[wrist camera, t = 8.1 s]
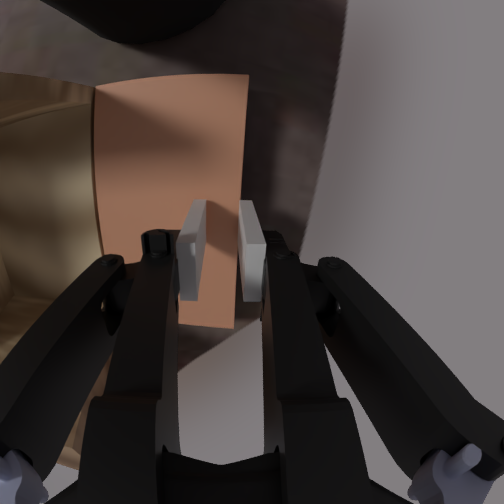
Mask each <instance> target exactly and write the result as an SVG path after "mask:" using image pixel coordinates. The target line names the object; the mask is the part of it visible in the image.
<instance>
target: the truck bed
mask: <svg viewBox="0 0 504 504" xmlns="http://www.w3.org/2000/svg"><path fill="white" fill-rule="evenodd" d="M95 91H96V88H94V87H90V86H86V85H81V84H77V83H72V82H67V81H61V80H56V79H50V78H44V77H37V76H30V75H22V74H13V73H2V72H0V364H1V363H2V361H3V360H4V359H5V357H6V356H7V355H8V354H9V352H10V351H11V350H12V348H13V347H14V346H15V345H16V344H17V342H18V341H19V340H20V339H21V337H22V336H23V335H24V334H25V333H26V332H27V330H28V329H29V328H30V327H31V326H32V325H33V324H34V322H35V321H36V320H37V319H38V318H39V317H40V316H41V315H42V313H43V312H44V311H45V310H46V309H47V308H48V307H49V306H50V305H51V304H52V303H53V302H54V301H55V300H56V298H57V297H58V296H59V295H60V294H61V293H62V292H63V291H64V290H65V289H66V288H67V287H68V286H69V285H70V284H71V283H72V282H73V281H74V280H75V279H76V278H77V277H78V276H79V275H80V274H81V273H82V272H83V271H85V270H86V269H87V268H88V267H89V266H90V265H91V264H92V263H93V262H94V261H95V260H96V259H98V258H99V257H102V256H104V255H105V254H104V248H103V242H102V235H101V229H100V221H99V213H98V204H97V193H96V180H95V162H94V109H95ZM102 308H103V302H102V307H101V309H102ZM112 353H113V352H112ZM112 353H111V355H110V357H109V359H108V360H107V362H106V364H105V366H104V368H103V369H102V371H101V373H100V375H99V377H98V379H97V380H96V382H95V384H94V386H93V388H92V390H91V392H90V394H89V396H88V398H87V399H86V401H85V403H84V405H83V407H82V409H81V411H80V413H79V415H78V417H77V420H76V422H75V424H74V426H73V428H72V430H71V432H70V434H69V436H68V439H67V441H66V443H65V445H64V447H63V450H62V452H61V454H60V456H59V458H58V460H57V462H56V463H58V464H61V465H64V466H67V467H70V468H73V469H76V470H79V465H80V456H81V449H82V442H83V435H84V429H85V424H86V418H87V413H88V408H89V405H90V402H91V399H92V398H93V397H94V396H102V395H103V392H104V389H105V384H106V379H107V375H108V370H109V366H110V361H111V357H112Z"/></svg>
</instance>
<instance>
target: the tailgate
mask: <svg viewBox="0 0 504 504" xmlns="http://www.w3.org/2000/svg"><path fill="white" fill-rule="evenodd" d="M248 87H249V75H243V74H188V75H171V76H160V77H150V78H142V79H134V80H127V81H121V82H115V83H110V84H104V85H99V86H96V91H95V109H94V162H95V180H96V193H97V204H98V213H99V221H100V229H101V235H102V242H103V248H104V254H105V255H106V254H117V255H121V256H122V257H123V258H124V263H125V264H129V263H135V262H139V261H141V258H142V255H143V252H142V244H141V235H142V233H144V232H146V231H149V230H153V229H166V230H181V229H182V226H183V224H184V221H185V219H186V217H187V214H188V212H189V210H190V207H191V205H192V203H193V200H194V199H206V245H205V251H204V258H203V265H202V271H201V278H200V286H199V293H198V301H180V293H179V295H178V302H179V318H178V323H179V324H188V325H197V326H208V327H219V328H231V329H234V318H235V296H236V275H237V256H238V219H239V200H241V186H242V170H243V155H244V141H245V127H246V113H247V99H248Z"/></svg>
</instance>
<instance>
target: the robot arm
mask: <svg viewBox="0 0 504 504" xmlns="http://www.w3.org/2000/svg"><path fill="white" fill-rule="evenodd" d="M141 244H142V252H143V255H142V258H141V261H139V262H135V263H129V264H125V263H124V258H123V257H122V256H121V255H117V254H106V255H104V256H102V257H99V258H98V259H96V260H95V261H94V262H93V263H92V264H91V265H90V266H89V267H88V268H87V269H86V270H85V271H83V272H82V273H81V274H80V275H79V276H78V277H77V278H76V279H75V280H74V281H73V282H72V283H71V284H70V285H69V286H68V287H67V288H66V289H65V290H64V291H63V292H62V293H61V294H60V295H59V296H58V297H57V298H56V300H55V301H54V302H53V303H52V304H51V305H50V306H49V307H48V308H47V309H46V310H45V311H44V312H43V313H42V315H41V316H40V317H39V318H38V319H37V320H36V321H35V322H34V324H33V325H32V326H31V327H30V328H29V329H28V330H27V332H26V333H25V334H24V335H23V336H22V337H21V339H20V340H19V341H18V342H17V344H16V345H15V346H14V347H13V348H12V350H11V351H10V352H9V354H8V355H7V356H6V357H5V359H4V360H3V361H2V363H1V364H0V504H39V503H44V504H413V503H411V502H409V501H407V500H406V499H404V498H402V497H400V496H398V495H396V494H395V493H393V492H391V491H389V490H388V489H386V488H384V487H383V486H381V485H379V484H378V483H376V482H374V481H373V480H371V479H369V476H368V472H367V467H366V462H365V458H364V453H363V449H362V445H361V441H360V437H359V433H358V428H357V424H356V421H355V417H354V413H353V409H352V407H351V404H350V402H349V400H348V399H347V398H339V397H338V395H337V392H336V389H335V384H334V381H333V376H332V372H331V369H330V364H329V361H328V357H327V353H326V349H325V346H326V347H327V348H328V350H329V352H330V354H331V355H332V357H333V359H334V360H335V362H336V364H337V365H338V367H339V368H340V370H341V372H342V373H343V375H344V377H345V378H346V380H347V382H348V384H349V385H350V387H351V389H352V390H353V392H354V394H355V395H356V397H357V399H358V400H359V402H360V404H361V405H362V407H363V409H364V410H365V412H366V414H367V415H368V417H369V419H370V421H371V422H372V424H373V425H374V427H375V429H376V431H377V432H378V434H379V436H380V438H381V439H382V441H383V442H384V444H385V446H386V448H387V449H388V451H389V453H390V454H391V456H392V457H393V459H394V461H395V462H396V464H397V465H398V466H399V467H400V468H401V469H402V471H403V472H404V473H405V474H406V475H407V476H408V477H409V478H410V479H411V480H412V485H411V486H410V487H409V489H408V496H409V498H410V499H412V500H418V501H419V503H420V504H482V503H483V502H484V500H485V498H486V496H487V494H488V492H489V490H490V488H491V486H492V484H493V482H494V481H495V480H496V479H497V478H499V477H500V476H502V475H503V474H504V420H503V419H501V418H500V417H499V416H497V415H496V414H494V413H493V412H491V411H490V410H489V409H487V408H486V407H485V406H483V405H482V404H480V403H479V402H478V401H476V400H475V399H474V398H473V397H472V395H471V394H470V393H469V392H468V390H467V389H466V388H465V387H464V386H463V384H462V383H461V382H460V381H459V380H458V378H457V377H455V375H454V374H453V373H452V371H451V370H450V369H449V368H448V367H447V366H446V365H445V363H444V362H443V361H442V360H441V359H440V358H439V357H438V355H437V354H436V353H435V352H434V351H433V350H432V349H431V348H430V346H429V345H428V344H427V343H426V342H425V341H424V340H423V339H422V338H421V337H420V336H419V335H418V333H417V332H416V331H415V330H414V329H413V328H412V327H411V326H410V325H409V324H408V323H407V322H406V321H405V320H404V319H403V318H402V317H401V316H400V315H399V313H397V311H396V310H395V309H394V308H392V306H391V305H390V304H389V303H388V302H387V301H386V300H385V299H384V298H383V297H382V296H381V295H380V294H379V293H378V292H377V291H376V290H375V289H374V288H373V287H371V285H370V284H369V283H368V282H367V281H366V280H365V279H364V278H362V276H361V275H359V274H358V273H357V272H356V271H355V270H354V269H353V268H352V267H351V266H350V265H349V264H348V263H347V262H345V261H344V260H341V259H339V258H337V257H336V258H335V257H323V258H321V259H319V262H318V266H313V265H308V264H304V263H301V262H300V259H299V256H298V255H297V254H296V253H294V252H292V251H289V249H288V247H287V245H286V243H285V241H284V239H283V237H282V235H281V234H280V233H278V232H277V231H265V230H261V227H260V224H259V221H258V218H257V215H256V212H255V209H254V206H253V203H252V200H239V219H238V252H239V262H240V272H241V282H242V292H243V301H244V302H261V295H263V297H262V307H261V316H260V321H262V349H263V396H264V454H263V455H260V456H257V457H253V458H249V459H246V460H242V461H238V462H234V463H230V464H225V465H217V464H213V463H209V462H205V461H201V460H197V459H193V458H190V457H186V456H183V455H181V450H180V442H179V423H178V387H177V386H178V385H177V384H178V383H177V361H178V318H179V302H178V295H179V293H180V301H198V293H199V286H200V278H201V271H202V265H203V258H204V251H205V245H206V199H194V200H193V203H192V205H191V207H190V210H189V212H188V214H187V217H186V219H185V221H184V224H183V226H182V229H181V230H166V229H153V230H149V231H146V232H144V233H142V235H141ZM102 302H103V308H102V309H101V307H102ZM339 307H340V309H339ZM324 344H325V346H324ZM112 352H113V353H112ZM111 353H112V357H111V361H110V366H109V370H108V375H107V379H106V384H105V389H104V392H103V395H102V396H94V397H93V398H92V399H91V402H90V405H89V408H88V413H87V418H86V424H85V429H84V435H83V442H82V449H81V456H80V465H79V475H78V480H77V481H75V482H74V483H72V484H71V485H70V486H69V487H67V488H66V489H64V490H63V491H61V492H60V493H59V494H57V495H56V496H54V497H53V498H51V499H50V500H49V501H47V500H48V497H49V495H48V491H47V490H46V489H45V487H44V486H43V483H42V482H43V481H44V480H45V479H46V478H47V476H48V475H49V473H50V472H51V470H52V469H53V467H54V466H55V464H56V462H57V460H58V458H59V456H60V454H61V452H62V450H63V447H64V445H65V443H66V441H67V439H68V436H69V434H70V432H71V430H72V428H73V426H74V424H75V422H76V420H77V417H78V415H79V413H80V411H81V409H82V407H83V405H84V403H85V401H86V399H87V398H88V396H89V394H90V392H91V390H92V388H93V386H94V384H95V382H96V380H97V379H98V377H99V375H100V373H101V371H102V369H103V368H104V366H105V364H106V362H107V360H108V359H109V357H110V355H111ZM46 501H47V502H46ZM45 502H46V503H45Z"/></svg>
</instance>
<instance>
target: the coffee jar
mask: <svg viewBox="0 0 504 504" xmlns="http://www.w3.org/2000/svg"><path fill="white" fill-rule="evenodd" d="M40 1H42V2H44V3H46V4H48V5H50V6H51V7H53V8H55V9H57V10H58V11H60V12H62V13H64V14H65V15H67V16H69V17H70V18H72V19H73V20H75V21H77V22H78V23H80V24H82V25H83V26H85V27H86V28H88V29H89V30H91V31H92V32H94V33H95V34H97V35H99V36H100V37H102V38H105V39H108V40H111V41H114V42H117V43H134V44H143V43H148V42H152V41H157V40H162V39H168V38H170V37H172V36H175V35H177V34H179V33H182V32H184V31H187V30H189V29H192V28H193V27H195V26H196V25H198V24H199V23H200V22H202V21H203V20H205V19H206V18H208V17H210V16H211V15H213V14H214V13H215V11H216V10H217V9H218V8H219V7H220V6H221V5H222V4H223V3H224V1H225V0H40Z"/></svg>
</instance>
